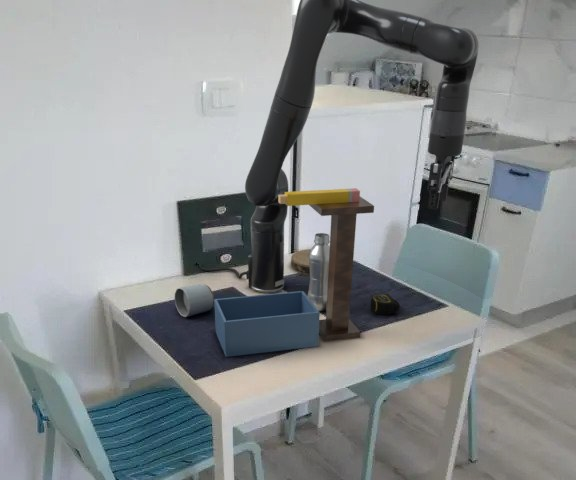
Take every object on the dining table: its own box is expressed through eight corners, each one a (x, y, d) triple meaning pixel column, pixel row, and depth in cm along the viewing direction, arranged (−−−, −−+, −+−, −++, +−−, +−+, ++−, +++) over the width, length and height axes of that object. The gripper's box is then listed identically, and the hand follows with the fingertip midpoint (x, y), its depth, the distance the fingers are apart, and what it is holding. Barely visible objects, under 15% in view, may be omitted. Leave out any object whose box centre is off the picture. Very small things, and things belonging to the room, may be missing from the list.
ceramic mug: (216, 313, 161) (215, 285, 157) (190, 321, 156) (187, 292, 153) (195, 301, 168) (193, 274, 164) (168, 308, 163) (166, 281, 160)
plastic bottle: (324, 315, 161) (327, 240, 151) (301, 309, 164) (304, 236, 154) (335, 307, 166) (340, 234, 155) (313, 301, 169) (316, 229, 158)
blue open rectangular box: (225, 357, 141) (224, 322, 136) (215, 332, 151) (214, 299, 147) (318, 346, 146) (319, 312, 141) (302, 323, 157) (303, 290, 152)
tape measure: (400, 315, 162) (401, 301, 160) (376, 318, 160) (377, 304, 158) (388, 305, 168) (390, 292, 166) (365, 307, 166) (366, 294, 164)
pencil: (280, 206, 132) (280, 195, 131) (277, 203, 134) (277, 192, 133) (359, 201, 136) (360, 190, 135) (355, 199, 138) (356, 188, 137)
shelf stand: (315, 343, 147) (321, 208, 131) (303, 326, 155) (307, 197, 139) (362, 338, 150) (374, 205, 134) (348, 321, 158) (357, 194, 142)
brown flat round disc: (348, 262, 196) (348, 253, 195) (333, 278, 184) (333, 269, 182) (301, 255, 201) (301, 246, 200) (283, 271, 188) (283, 261, 187)
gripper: (438, 125, 144) (428, 196, 153) (422, 134, 133) (413, 209, 142) (470, 128, 142) (459, 199, 150) (457, 137, 131) (445, 214, 139)
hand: (437, 204), depth 146 cm, fingers open, 8 cm apart
